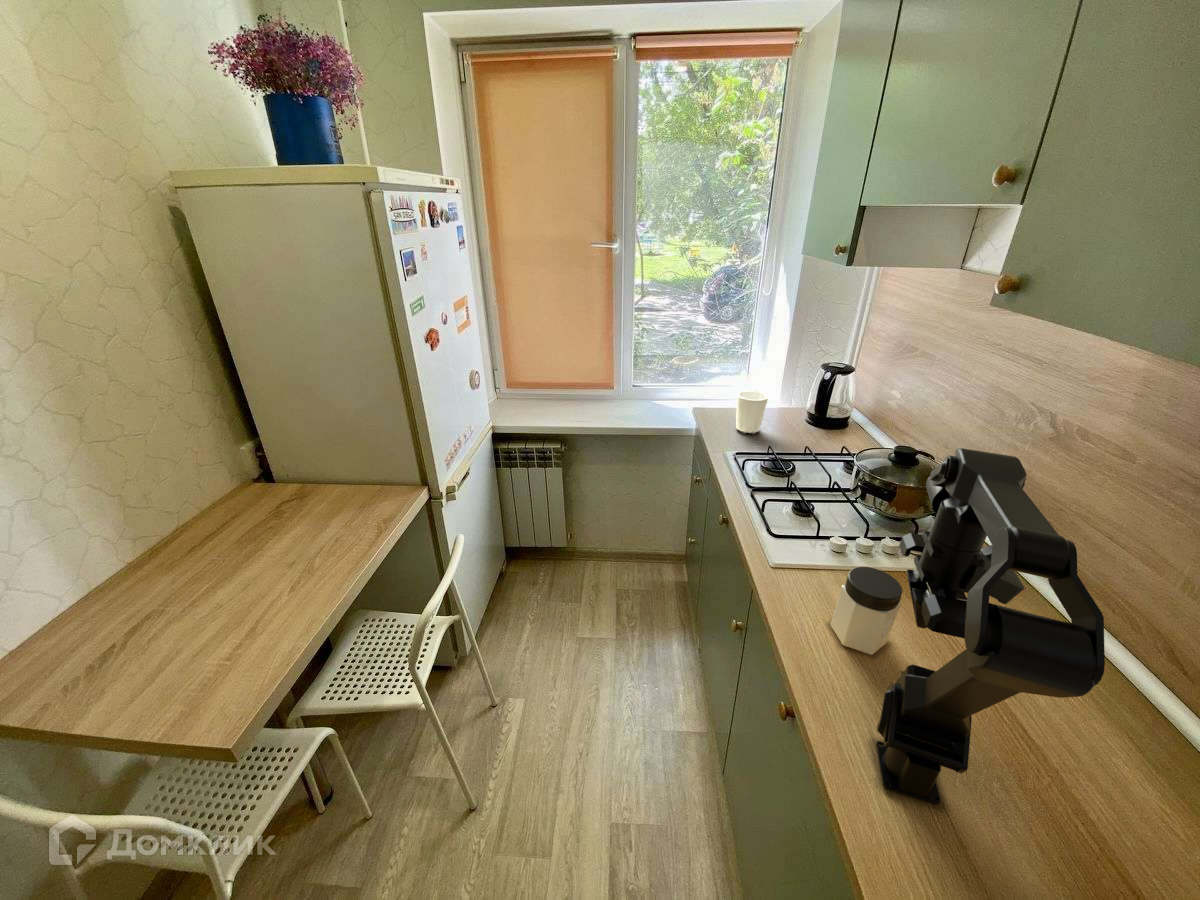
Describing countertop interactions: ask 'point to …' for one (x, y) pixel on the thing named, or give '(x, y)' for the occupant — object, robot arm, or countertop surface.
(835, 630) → the jar
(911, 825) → the countertop surface
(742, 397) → the cup
